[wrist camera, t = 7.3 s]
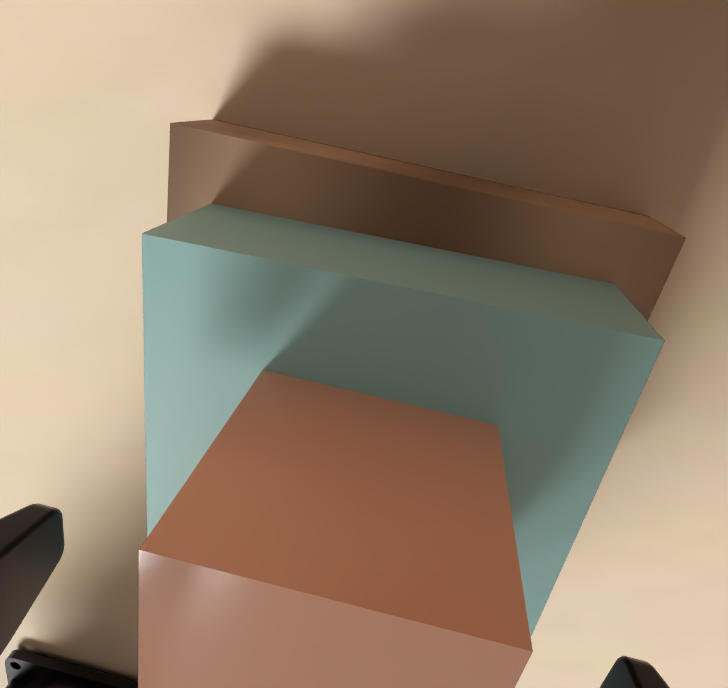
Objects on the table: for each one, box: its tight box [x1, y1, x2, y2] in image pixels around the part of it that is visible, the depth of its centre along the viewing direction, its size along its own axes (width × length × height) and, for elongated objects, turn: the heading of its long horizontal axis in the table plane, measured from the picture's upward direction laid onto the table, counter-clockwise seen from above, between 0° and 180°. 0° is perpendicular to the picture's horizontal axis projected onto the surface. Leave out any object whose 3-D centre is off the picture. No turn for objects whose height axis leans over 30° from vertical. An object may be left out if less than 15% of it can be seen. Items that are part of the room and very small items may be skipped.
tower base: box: [167, 120, 686, 321], centre depth 15 cm, size 11×11×3 cm
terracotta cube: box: [138, 370, 533, 688], centre depth 9 cm, size 4×4×4 cm
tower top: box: [142, 203, 665, 637], centre depth 12 cm, size 9×9×3 cm
